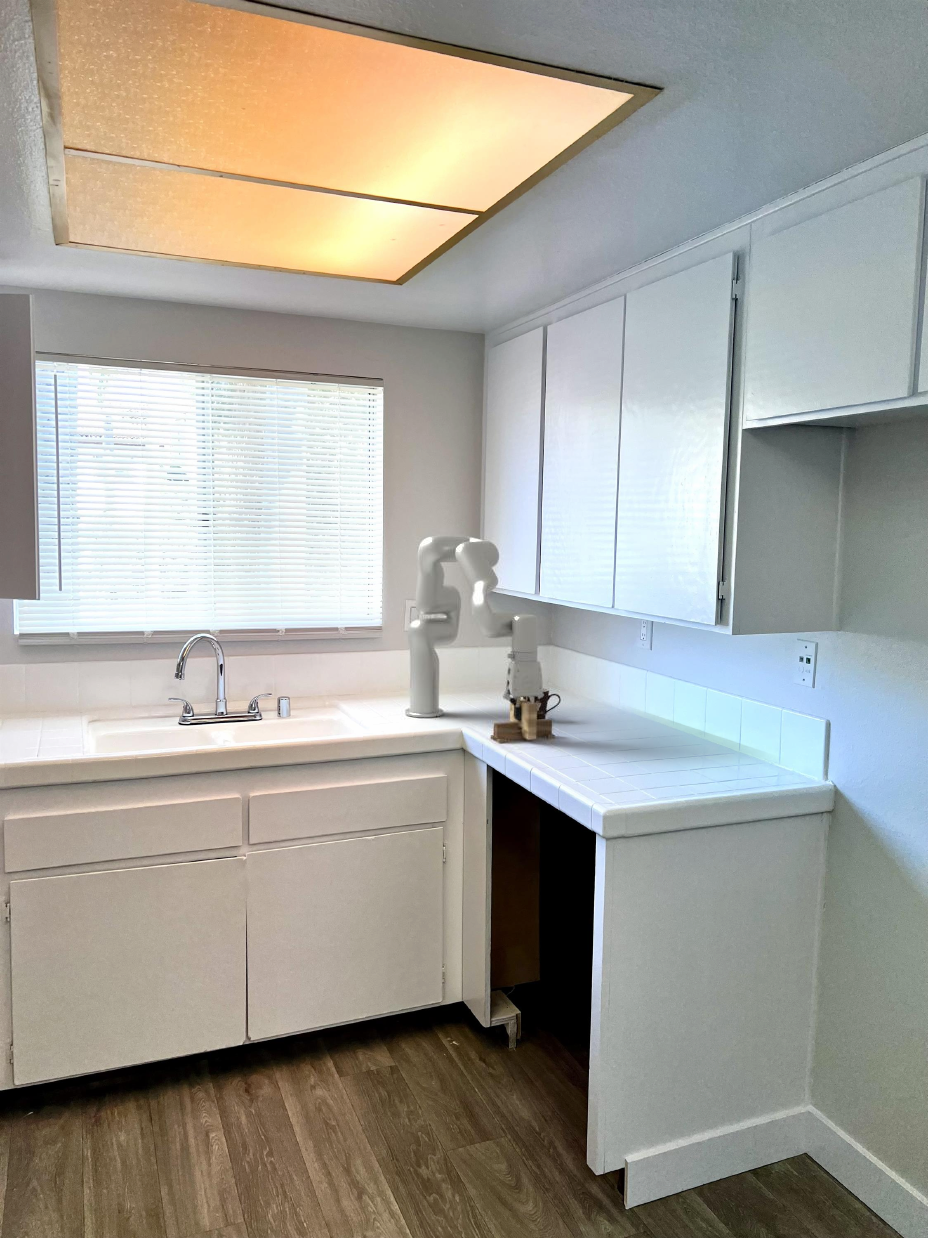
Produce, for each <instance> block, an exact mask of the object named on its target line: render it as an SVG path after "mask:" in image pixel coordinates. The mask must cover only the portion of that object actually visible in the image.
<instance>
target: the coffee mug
mask: <svg viewBox="0 0 928 1238" xmlns="http://www.w3.org/2000/svg"><path fill="white" fill-rule="evenodd" d="M542 692H543V694H544V696H543V697H541V698H540V699H538V700H537V701H536V702H535V704H537V720H539V719H546V717H547V713H548V712H550V711H552V710H554V709H556V708H557V707H558V706H559V705H560V703H561V701H562V698H561V696H560V695H559V694H558V693H551V694H550V689H549V688H545V687H543V690H542ZM553 696H555V697H557V698H558V702H557V703H556V704H555V705H553V706H552V707H551V708H548V703H549V702H548V701H550V698H552V697H553ZM522 699H524V700H526V697H522Z"/></svg>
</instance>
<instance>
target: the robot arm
mask: <svg viewBox="0 0 928 1238" xmlns="http://www.w3.org/2000/svg"><path fill="white" fill-rule="evenodd" d="M499 559H500V553H499V549H498V548H497V546H496V545H495V544H494V543H493V542H491V541H489V540H485V539H481V538H477V537H474V536H473V537H472V536H469V535H468V536H467V535H448V534H447V535H445V534H444V535H443V534H441V535H432V536H427V537H426V538H424V539H423V540H422V541H421V542H420V544H419V546H418V551H417V567H418V570H417V571H418V572H417V580H416V590H415V591H416V592H415V599H414V601H415V602H414V603H415V604H414V605H415V609H416V612H418V613H419V614H422V615H429V616H430V615H437V617H436V616H435V617H422V618H418V619H415V620H413V621H411V622H410V623H409V625H408V627H407V630H406V631H407V632H406V634H407V641H408V645H409V646H408V647H409V658H410V659H409V660H410V661H409V664H410V665H409V670H410V673H409V676H410V680H409V681H410V683H409V691H410V692H409V707H408V708H406V709H405V712H404V714H405V715H406V716H409V717H414V718H436V716H437V717H440V716H442V715H444V710H443V709H442V708H440V657H439V655H438V653H437V651H436V649H435V647H440V646H441V647H443V646H450V645H451V644H453V643H454V642H455V641H456V640H457V637H458V633H459V628H460V620H461V619H460V616H461V609H462V597H461V594H460V592H459V589H457V588H456V586H454V585H451V584H444V580H445V570H444V568H443V565H442V564H441V563H457V564H458V566H459V568H460V570H461V572H462V573H463V576H464V577H465V579H466V581H467V583H468V584H469V587H470V588H471V590H472V594H471V597H470V598H471V600H470V610H471V615H472V617H473V619H474V623H475V624H476V625H477V627H478V629H479V631H480V632H481V633H482V635H483V636H485V637H486V638H488V639H501V638H511V650H510V653H508V654H507V659H510V661H509V662H508V666H507V672H506V677H505V678H506V679H505V691H504V693H503V696H502V698H503V699H505V700H506V701H508V702H511V703H512V705H513V706H514V717H515V719H516V720H518V721H521V709H522V708H521V707H520V700H521V698H523V697H526V700H527V701H529V702H532V703H534V704H535V702H536V701H537V700H538V699H540V698H541V697H543V696H544V694H543V692H542V690H543V688H544V687H543V672H542V667H541V662H540V661H538V645H539V640H538V638H539V619H538V616H536V615H534V614H531V613H530V614H526V613H522V612H521V613H520V612H518V611H500V612H499V611H498V612H497V611H496V612H494V611H493V610H492V608H491V606H490V604H489V602H488V598H487V597H488V595H487V594H490V593H491V592H492V591H493V590H495V589H496V587H497V586H498V584H499V578H498V576H497V575H496V572H495V570H494V569H493V568H494V567H495V566H496V565H498V563H499V561H500V560H499ZM512 697H513V698H512Z"/></svg>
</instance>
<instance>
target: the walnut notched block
mask: <svg viewBox="0 0 928 1238" xmlns="http://www.w3.org/2000/svg"><path fill="white" fill-rule="evenodd" d="M543 738H544V739H548V740H550V739H555V738H556V735H555V734H554V733H553V720H552V719H550V718H545V719H539V720H537V725H536V739H543ZM492 739H493V740H492ZM490 740H492V741H494V742H496V743H498V744H506V742H508V740H510V741H519V740H527V739H526V738H524V737H522V730H519V723H518V722H516V721H514V722H510V721H503V722H502V721H501V722H493V733H492V735H491V734H490Z"/></svg>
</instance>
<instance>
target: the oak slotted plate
mask: <svg viewBox="0 0 928 1238" xmlns="http://www.w3.org/2000/svg"><path fill="white" fill-rule="evenodd" d="M511 697H512V698H513V696H511ZM509 702H510V701H509ZM520 707H521V708H522V709H521V721H518V720H516V719H515V717H514V706H513V705H512V703H511V702H510V703H509V708H510V710H509V722H514V721H516V722H518V723H519V730H522V737H524V738H526V739H525V740H537V738H536V725H537V704H534V703H532V702H529V701H527V700H524V699H523V697H521V700H520Z"/></svg>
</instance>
